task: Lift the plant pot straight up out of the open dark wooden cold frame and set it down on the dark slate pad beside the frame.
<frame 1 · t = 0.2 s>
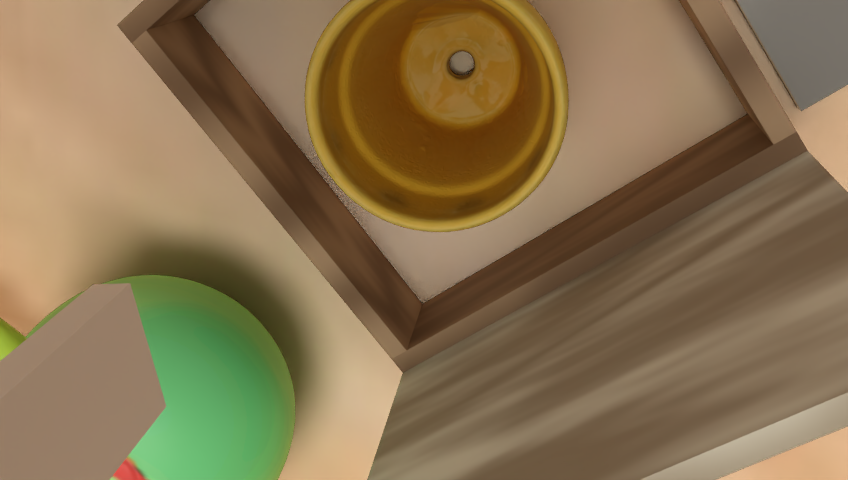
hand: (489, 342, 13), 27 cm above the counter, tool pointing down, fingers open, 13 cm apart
toy bird: (192, 351, 49), on the counter
cold frame: (461, 62, 38), on the counter
plant pot: (462, 61, 38), resting in cold frame
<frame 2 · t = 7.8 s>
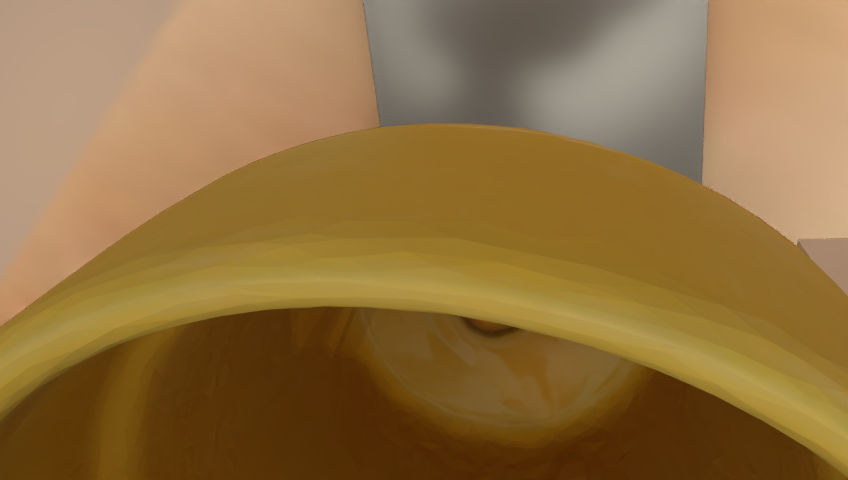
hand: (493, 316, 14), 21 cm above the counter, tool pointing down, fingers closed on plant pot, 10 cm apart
slate pad: (534, 73, 33), on the counter
plant pot: (499, 279, 15), point 20 cm above the counter, touching gripper
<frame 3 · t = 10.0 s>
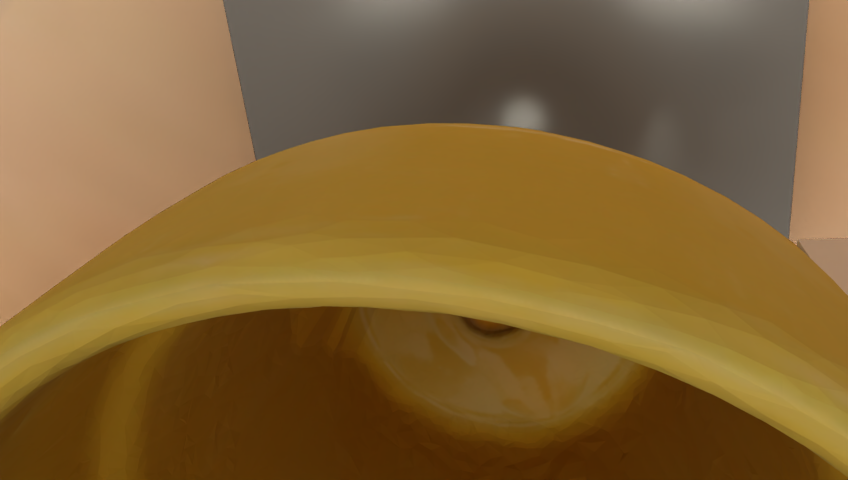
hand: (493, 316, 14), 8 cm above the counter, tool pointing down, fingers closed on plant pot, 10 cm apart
slate pad: (512, 179, 21), on the counter
plant pot: (499, 279, 15), point 6 cm above the counter, touching gripper
when the fingers open (4 cm above the counter, at t = 11.9 s): plant pot drops 2 cm, resting on slate pad.
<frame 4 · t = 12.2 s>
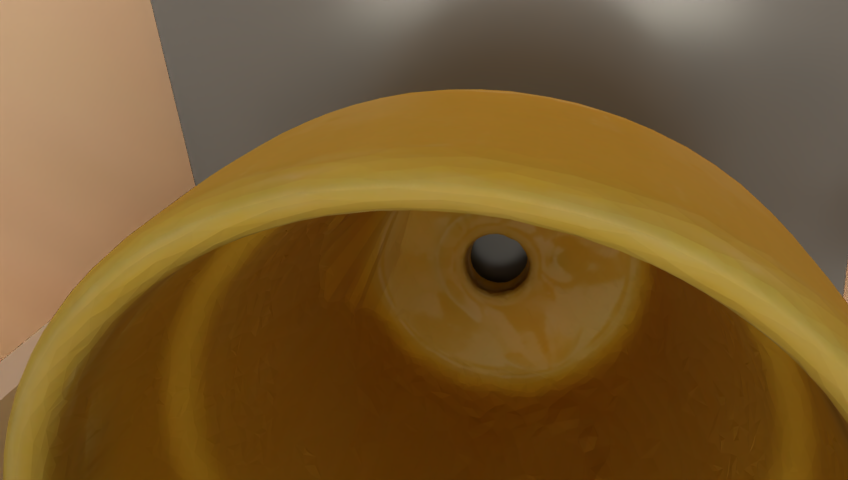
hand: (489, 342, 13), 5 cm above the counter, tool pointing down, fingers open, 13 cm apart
slate pad: (507, 233, 17), on the counter
plant pot: (502, 246, 17), resting on slate pad
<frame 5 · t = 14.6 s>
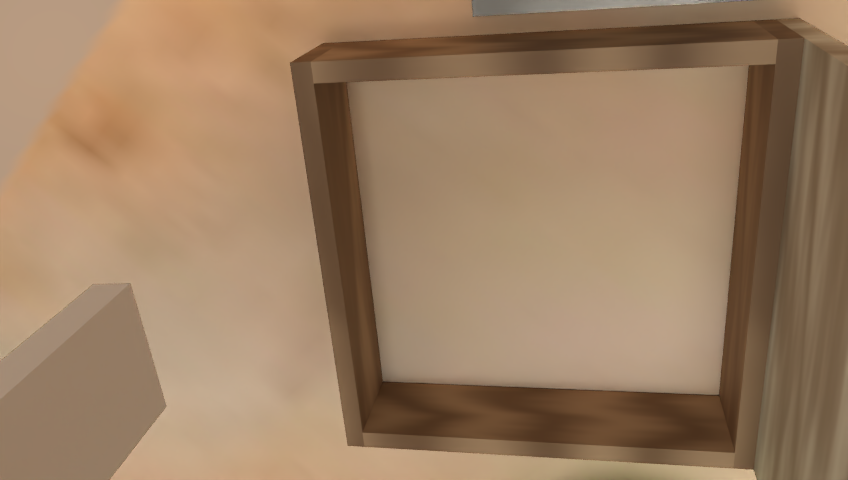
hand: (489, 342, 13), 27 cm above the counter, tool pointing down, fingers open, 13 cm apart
cold frame: (540, 236, 42), on the counter
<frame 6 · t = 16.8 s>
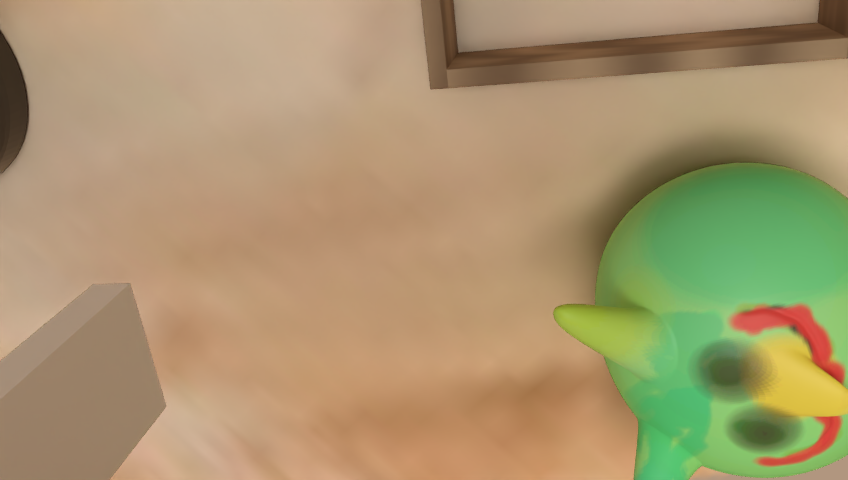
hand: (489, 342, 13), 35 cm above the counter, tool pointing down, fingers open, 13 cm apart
toy bird: (710, 268, 49), on the counter
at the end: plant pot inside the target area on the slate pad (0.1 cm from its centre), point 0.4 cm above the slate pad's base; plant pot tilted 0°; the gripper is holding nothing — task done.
